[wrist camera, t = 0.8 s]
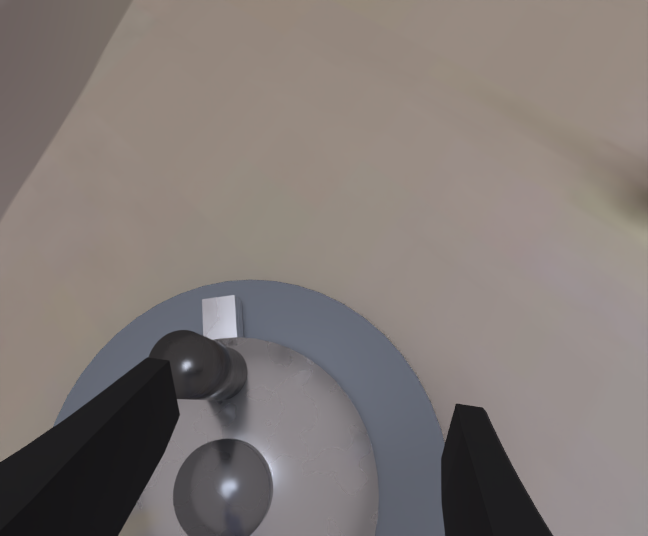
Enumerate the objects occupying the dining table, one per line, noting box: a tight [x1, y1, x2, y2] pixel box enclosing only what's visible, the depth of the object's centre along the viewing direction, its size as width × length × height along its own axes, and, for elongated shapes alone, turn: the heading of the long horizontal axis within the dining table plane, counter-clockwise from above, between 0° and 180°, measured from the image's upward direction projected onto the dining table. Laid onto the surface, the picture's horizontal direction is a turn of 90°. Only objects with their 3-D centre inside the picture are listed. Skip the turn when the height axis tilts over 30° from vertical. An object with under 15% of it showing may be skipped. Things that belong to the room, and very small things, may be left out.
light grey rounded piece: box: [118, 295, 379, 536], centre depth 22 cm, size 18×16×8 cm
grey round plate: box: [53, 280, 445, 536], centre depth 25 cm, size 24×24×4 cm
